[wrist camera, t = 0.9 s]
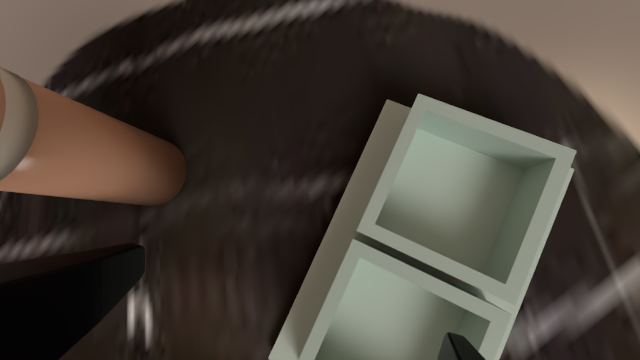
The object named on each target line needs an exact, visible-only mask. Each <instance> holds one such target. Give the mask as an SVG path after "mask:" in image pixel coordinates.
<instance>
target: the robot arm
mask: <svg viewBox="0 0 640 360" xmlns="http://www.w3.org/2000/svg"><path fill="white" fill-rule="evenodd" d="M144 269H145V250H144V247H143V246H141V245H137V244H134V243H126V244H120V245H114V246H107V247H101V248H95V249H89V250H83V251H77V252H70V253H64V254H58V255H52V256H46V257H40V258H33V259H27V260H21V261H15V262H9V263H2V264H0V360H59V359H60V358H61V357H62V356H63V355H64V354H65V353H66V352H67V351H68V350H70V349H71V348H72V347H73V346H74V345H75V344H76V343H77V342H78V341H79V340H80V339H82V338H83V337H84V336H85V335H86V334H87V333H88V332H89V331H90V330H91V329H93V328H94V327H95V326H96V325H97V324H98V323H99V322H100V321H101V320H102V319H103V318H104V317H105V316H106V315H107V314H108V313H109V312H110V311H111V310H112V309H113V308H114V307H115V305H116V304H117V303H118V302H119V301H120V300H121V299H122V298H123V297H124V296H125V295H126V294H127V293H128V291H129V290H130V289H131V288H132V287H133V286H134V285H135V284H136V283H137V282H138V281H139V280H140V278H141V277H142V275H143V273H144ZM437 360H486V359H485V358H484V357H483V356H482V355H481V354H480V353H479V352H478V351H477V350H476V348H475V347H474V346H473V345H472V344H471V343H470V342H469V341H468V340H467V339H466V338H465V337H464V336H462V335H459V334H456V333H452V332H447V333H446V334H445V335H444V338H443V342H442V345H441V348H440V351H439V354H438V358H437Z"/></svg>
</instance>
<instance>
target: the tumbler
mask: <svg viewBox="0 0 640 360" xmlns="http://www.w3.org/2000/svg"><path fill="white" fill-rule="evenodd" d="M186 173H187V166H186V161H185V158H184V155H183V154H182V152H181V151H180V149H179V148H178V147H176V146H175V145H174V144H172V143H170V142H168V141H165V140H163V139H161V138H158V137H156V136H154V135H152V134H149V133H147V132H145V131H142V130H140V129H138V128H136V127H133V126H131V125H129V124H126V123H124V122H122V121H120V120H117V119H115V118H113V117H110V116H108V115H106V114H104V113H101V112H99V111H97V110H94V109H92V108H90V107H88V106H85V105H83V104H81V103H78V102H76V101H74V100H72V99H69V98H67V97H65V96H62V95H60V94H58V93H56V92H53V91H51V90H49V89H46V88H44V87H42V86H40V85H37V84H35V83H32V82H30V81H28V80H26V79H24V78H21V77H20V76H18V75H17V74H15V73H12V72H10V71H8V70H6V69H3V68H1V67H0V191H9V192H19V193H29V194H38V195H48V196H58V197H68V198H78V199H88V200H98V201H107V202H117V203H127V204H137V205H147V206H158V205H162V204H164V203H167V202H168V201H170V200H171V199H173V198H174V197H175V196H176V195H177V194H178V193H179V191H180V190H181V188H182V186H183V184H184V182H185V179H186Z"/></svg>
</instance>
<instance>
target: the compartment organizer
mask: <svg viewBox="0 0 640 360" xmlns="http://www.w3.org/2000/svg"><path fill="white" fill-rule="evenodd" d="M575 154H576V150H573V149H570V148H568V147H565V146H562V145H559V144H557V143H554V142H551V141H548V140H546V139H543V138H540V137H537V136H535V135H532V134H529V133H526V132H524V131H521V130H518V129H515V128H512V127H510V126H507V125H504V124H501V123H499V122H496V121H493V120H490V119H488V118H485V117H482V116H479V115H477V114H474V113H471V112H468V111H466V110H463V109H460V108H457V107H454V106H452V105H449V104H446V103H443V102H441V101H438V100H435V99H432V98H430V97H427V96H424V95H421V94H419V93H418V95H417V97H416V100H415V102H414V104H413V106H412V108H409V107H407V106H404V105H401V104H398V103H396V102H393V101H390V100H388V99H387V100H386V103H385V105H384V107H383V109H382V111H381V114H380V116H379V118H378V120H377V122H376V124H375V127H374V129H373V131H372V133H371V135H370V138H369V140H368V142H367V144H366V146H365V148H364V151H363V153H362V155H361V157H360V159H359V162H358V164H357V166H356V168H355V170H354V172H353V175H352V177H351V179H350V181H349V183H348V186H347V188H346V190H345V192H344V194H343V196H342V199H341V201H340V203H339V205H338V207H337V210H336V212H335V214H334V216H333V218H332V220H331V223H330V225H329V227H328V229H327V231H326V234H325V236H324V238H323V240H322V242H321V244H320V247H319V249H318V251H317V253H316V255H315V258H314V260H313V262H312V264H311V266H310V268H309V271H308V273H307V275H306V277H305V279H304V282H303V284H302V286H301V288H300V290H299V292H298V295H297V297H296V299H295V301H294V303H293V306H292V308H291V310H290V312H289V314H288V316H287V319H286V321H285V323H284V325H283V327H282V330H281V332H280V334H279V336H278V338H277V340H276V343H275V345H274V347H273V349H272V351H271V354H270V356H269V358H268V359H270V360H437V358H438V354H439V351H440V348H441V345H442V342H443V338H444V335H445V334H446V333H447V332H452V333H456V334H459V335H462V336H464V337H465V338H466V339H467V340H468V341H469V342H470V343H471V344H472V345H473V346H474V347H475V348H476V350H477V351H478V352H479V353H480V354H481V355H482V356H483V357H484V358H485V359H486V360H499V359H500V356H501V354H502V351H503V349H504V346H505V344H506V341H507V339H508V336H509V334H510V331H511V328H512V326H513V323H514V321H515V318H516V316H517V313H518V311H519V308H520V306H521V303H522V301H523V298H524V296H525V293H526V291H527V288H528V286H529V283H530V280H531V278H532V275H533V273H534V270H535V268H536V265H537V263H538V260H539V258H540V255H541V253H542V250H543V248H544V245H545V243H546V240H547V237H548V235H549V232H550V230H551V227H552V225H553V222H554V220H555V217H556V215H557V212H558V210H559V207H560V205H561V202H562V200H563V197H564V194H565V192H566V189H567V187H568V184H569V182H570V179H571V177H572V174H573V172H574V169H572V168H570V167H571V164H572V162H573V159H574V156H575Z"/></svg>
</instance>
